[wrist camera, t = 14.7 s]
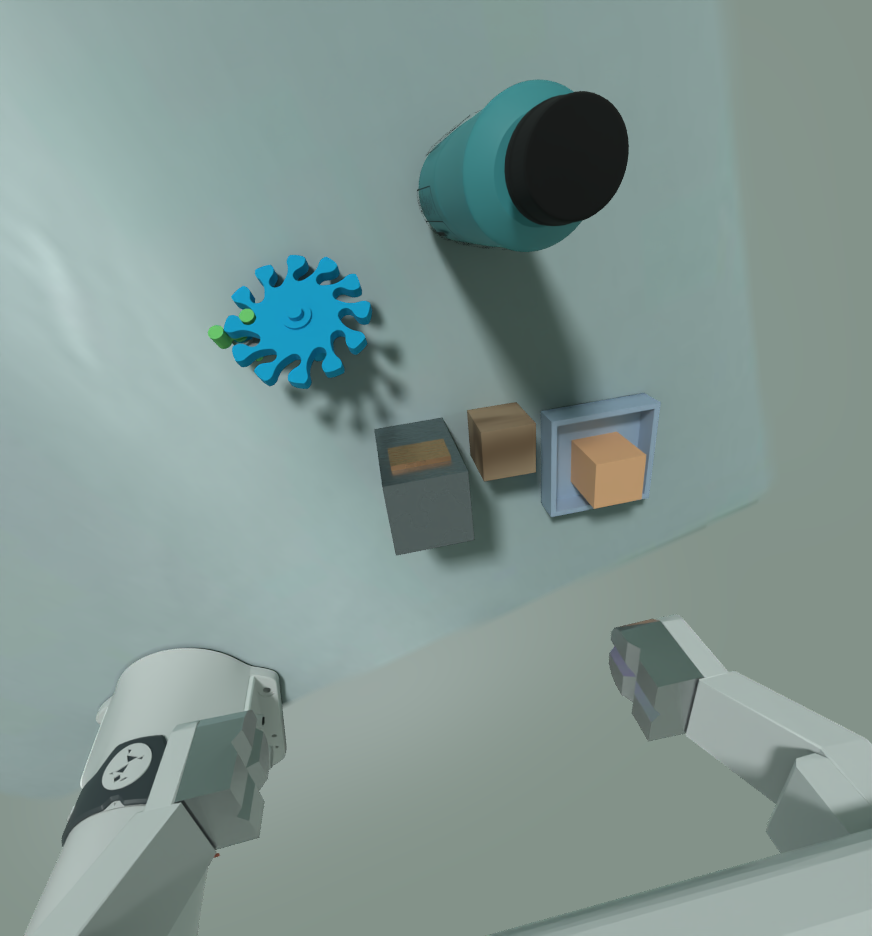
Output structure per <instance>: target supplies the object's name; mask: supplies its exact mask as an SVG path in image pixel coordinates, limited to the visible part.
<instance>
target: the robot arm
mask: <svg viewBox="0 0 872 936" xmlns="http://www.w3.org/2000/svg"><path fill="white" fill-rule="evenodd" d="M611 641H612V642H613V644H614V646H615V647H614V648H613V649H612V650H611V652H610V653H609V665H610V670H611V674H612V677H613V679H614V682H615V684H616V686H617V688H618V690H619V691H620V693H621V695H622V696H624V697H626V698H627V699H629V700H630V701H632V702H633V708H632V714H633V716H634V717H635V719H636V721H637V723H638V724H639V726H640V728H641V730H642V731H643V733H644V735H645V736H646V738H647V740H648V741H652V740H657V739H661V738H666V737H671V736H676V735H680V734H685V733H686V736H687V737H688V738H690V739H691V740H692V741H694V742H695V743H696V744H697V745H699V746H700V747H701V748H703V749H704V750H705V751H707V752H708V753H709V754H711V755H712V756H713V757H715V758H716V759H717V760H719V761H720V762H721V763H722V764H724V765H725V766H726V767H728V768H729V769H731V770H732V771H733V772H734V773H736V774H737V775H738V776H740V777H741V778H742V779H744V780H745V781H746V782H748V783H749V784H750V785H752V786H753V787H754V788H756V789H757V790H758V791H760V792H761V793H762V794H763V795H765V796H766V797H767V798H769V799H770V800H771V801H773V802H774V803H775V804H776V805H775V808H774V810H773V812H772V814H771V817H770V819H769V821H768V824H767V829H766V832H767V834H768V836H769V837H770V839H771V840H772V842H773V843H774V844H775V846H776V847H777V849H778V850H779V852H780V853H781V854H777V855H774V856H770V857H767V858H763V859H760V860H756V861H752V862H749V863H745V864H741V865H738V866H734V867H731V868H727V869H723V870H720V871H716V872H713V873H709V874H706V875H702V876H698V877H695V878H691V879H688V880H684V881H681V882H677V883H673V884H670V885H666V886H663V887H659V888H655V889H652V890H648V891H644V892H641V893H638V894H634V895H630V896H626V897H623V898H619V899H616V900H612V901H608V902H605V903H601V904H598V905H594V906H591V907H587V908H583V909H580V910H576V911H573V912H569V913H565V914H562V915H558V916H555V917H551V918H547V919H544V920H540V921H537V922H533V923H530V924H526V925H523V926H519V927H515V928H512V929H508V930H504V931H501V932H497V933H494V934H490V935H487V936H872V744H871V743H870V742H869V741H868V740H867V739H866V738H864V737H862V736H860V735H858V734H856V733H854V732H852V731H850V730H849V729H847V728H845V727H843V726H841V725H839V724H837V723H835V722H833V721H831V720H829V719H827V718H825V717H823V716H822V715H819V714H818V713H815V712H814V711H812V710H810V709H808V708H806V707H804V706H802V705H800V704H798V703H796V702H794V701H792V700H790V699H789V698H786V697H785V696H783V695H781V694H779V693H777V692H775V691H773V690H771V689H769V688H767V687H765V686H763V685H761V684H759V683H758V682H756V681H754V680H752V679H750V678H748V677H746V676H744V675H742V674H740V673H738V672H736V671H731V672H728V671H727V670H726V668H725V667H724V666H723V665H722V664H721V662H720V661H719V660H718V659H717V658H716V657H715V655H714V654H713V653H712V652H711V651H710V650H709V648H708V647H707V646H706V645H705V644H704V643H703V641H702V640H701V639H700V638H699V637H698V636H697V634H696V633H695V632H694V631H693V630H692V628H691V627H690V626H689V625H688V624H687V623H686V621H685V620H684V619H683V618H682V617H681V616H679V615H677V614H675V615H669V616H665V617H661V618H656V619H650V620H645V621H641V622H637V623H633V624H629V625H624V626H620V627H616V628H614V629H613V631H612V632H611ZM96 721H97V722H98V723H99V724H100V728H99V731H98V733H97V736H96V739H95V741H94V744H93V747H92V750H91V752H90V755H89V758H88V761H87V763H86V766H85V769H84V772H83V775H82V778H81V783H80V785H81V788H83V789H82V791H81V793H80V795H79V798H78V800H77V802H76V804H75V805H74V806H73V808H72V810H71V812H70V815H69V817H68V820H67V822H68V823H67V825H66V828H65V831H64V833H63V836H62V847H63V848H62V851H61V853H60V855H59V857H58V859H57V862H56V864H55V866H54V869H53V871H52V873H51V875H50V878H49V880H48V882H47V884H46V886H45V889H44V891H43V893H42V895H41V898H40V900H39V902H38V904H37V907H36V909H35V911H34V914H33V916H32V918H31V920H30V922H29V925H28V927H27V929H26V931H25V934H24V936H197V935H198V928H199V920H200V912H201V905H202V899H203V892H204V886H205V881H206V876H207V870H208V866H209V865H210V863H211V861H212V859H213V858H214V857H218V856H219V853H217V854H216V851H215V850H217V849H221V848H224V847H228V846H231V845H235V844H238V843H242V842H245V841H249V840H253V839H257V838H259V835H260V829H261V822H262V814H263V808H264V800H263V798H262V796H261V794H260V792H259V790H260V789H261V787H262V786H263V785H264V783H265V781H266V780H267V779H268V772H269V771H268V770H269V769H270V768H272V766H273V765H275V764H276V763H278V762H279V761H281V760H282V759H283V758H284V757H285V753H286V739H285V729H284V720H283V711H282V701H281V692H280V683H279V676H278V674H277V673H276V672H275V671H272V670H269V669H265V668H260V667H254V666H250V665H247V664H245V663H243V662H241V661H239V660H237V659H235V658H233V657H231V656H228V655H226V654H223V653H220V652H216V651H211V650H206V649H197V648H179V649H170V650H165V651H160V652H157V653H154V654H151V655H148V656H146V657H143V658H141V659H140V660H138V661H136V662H135V663H133V664H132V665H131V666H129V667H128V668H127V669H126V670H125V671H124V672H123V674H122V675H121V676H120V678H119V680H118V682H117V685H116V689H115V692H114V694H113V695H112V696H111V697H110V698H109V699H108V700H107V701H105V702H104V703H103V704H102V705H101V706H100V708H99V710H98V713H97V716H96Z"/></svg>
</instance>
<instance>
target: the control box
mask: <svg viewBox="0 0 872 936" xmlns="http://www.w3.org/2000/svg"><path fill="white" fill-rule="evenodd" d="M374 430H375V437H376V444H377V451H378V459H379V466H380V473H381V480H382V487H383V492H384V498H385V503H386V508H387V513H388V518H389V523H390V528H391V533H392V538H393V543H394V548H395V553H396V555H401V554H406V553H411V552H416V551H421V550H426V549H431V548H436V547H441V546H446V545H451V544H456V543H462V542H467V541H472V540H474V530H473V519H472V508H471V497H470V487H469V476H468V470H467V468H466V466H465V464H464V462H463V460H462V458H461V456H460V453H459V451H458V449H457V447H456V445H455V443H454V441H453V439H452V437H451V435H450V433H449V431H448V429H447V426H446V424H445V422H444V420H443V418H438V419H432V420H426V421H420V422H414V423H409V424H403V425H397V426H391V427H386V428H380V429H374Z"/></svg>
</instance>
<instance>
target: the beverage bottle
mask: <svg viewBox="0 0 872 936" xmlns="http://www.w3.org/2000/svg"><path fill="white" fill-rule="evenodd" d="M469 116H470V115H469ZM469 116H468V117H469ZM468 117H467V118H468ZM461 123H462V122H461ZM461 123H460V124H461ZM460 124H459V125H460ZM459 125H458V126H459ZM453 128H454V127H453ZM454 129H455V128H454ZM454 129H453V130H454ZM453 130H452V131H453ZM450 131H451V130H450ZM452 131H451V132H452ZM447 133H448V132H447ZM447 133H446V134H447ZM446 134H445V135H446ZM444 137H446V136H444ZM440 141H441V139H440ZM432 147H433V146H432ZM628 150H629V145H628V135H627V130H626V127H625V123H624V121H623V119H622V117H621V115H620V113H619V112H618V110H617V109H616V108H615V107H614V105H613V104H612V103H610V102H609V101H608V100H607V99H605V98H603V97H602V96H600V95H597V94H595V93H591V92H585V91H579V92H573V91H572V90H570V89H569V88H567V87H566V86H564V85H561V84H559V83H556V82H552V81H548V80H529V81H525V82H521V83H518V84H515V85H513V86H511V87H509V88H507V89H506V90H504V91H503V92H501V93H499V94H498V95H497V96H496V97H495V98H493V99H492V100H491V101H490V102H489V103H488V104H487V105H486V107H485V108H484V109H482V110H480V112H479V113H477V114H476V115H475V116H474V117H472V118H471V119H469V120H468V121H466V122H465V123H464V124H462V125H461V126H459V127H458V128H457V129H456V130H455V131H453V132H452V133H451V134H450V135H449V136H447V137H446V138H445V139H444V140H443V141H442V142H440V143H439V144H438V145H437V146H436V147H435V148H434V149H433V150H432V151H431V152H427V153H428V154H429V153H430V154H429V155H428V154H427V155H428V157H427V158H426V160H425V162H424V165H423V167H422V170H421V174H420V179H419V189H418V190H417V191H419V199H420V201H419V202H420V203H418V204H421V205H420V206H421V207H422V208H421V209H422V210H423V211H422V210H421V211H422V212H423V214H424V215H425V217H426V219H427V220H428V221H426V223H427V222H429V223H430V225H431V226H432V227H433V228H434V229H435V230H436V231H437V233H438V234H439V235H440V236H444V237H446V238H449V239H448V240H450V239H452V240H456V241H459V242H460V241H462V242H466V245H467V243H468V244H469V243H473V244H479V245H485V246H486V247H487V246H492V248H493V247H503V248H506V249H509V250H513V251H519V252H532V251H538V250H542V249H545V248H548V247H550V246H553V245H555V244H556V243H558V242H560V241H561V240H563V239H564V238H565V237H567V236H568V235H569V234H570V233H571V232H572V231H574V230H575V229H576V227H577V226H578V225H579V224H580V223H581V222H582V220H585V219H587V218H589V217H591V216H593V215H594V214H596V213H597V212H599V211H600V210H601V209H602V208H603V207H604V206H606V205H607V204H608V202H609V201H610V200H611V199H612V198H613V196H614V195H615V193H616V192H617V190H618V188H619V186H620V184H621V182H622V179H623V177H624V174H625V170H626V166H627V161H628ZM417 198H418V197H417ZM422 212H421V213H422ZM439 235H438V236H439ZM441 238H442V237H441ZM462 242H461V243H462ZM458 244H459V243H458ZM464 244H465V243H464ZM464 244H463V245H464ZM468 246H469V245H468ZM473 247H474V246H473ZM476 247H477V246H476ZM483 247H484V246H483ZM483 247H481V248H483ZM486 247H485V248H486ZM487 248H488V247H487ZM489 248H490V247H489ZM506 249H504V250H506ZM502 250H503V249H502Z"/></svg>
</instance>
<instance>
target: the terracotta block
mask: <svg viewBox="0 0 872 936" xmlns="http://www.w3.org/2000/svg"><path fill="white" fill-rule="evenodd" d="M645 464H646V454H645V453H643V452H642V451H641V450H640V449H638V448H637V447H636V446H635V445H633V444H632V443H631V442H630V441H628V440H627V439H626V438H624V437H623V436H622V435H621V434H619V433H618V432H612V433H607V434H601V435H596V436H591V437H586V438H580V439H575V440H571V482H572V484H573V485H574V486H575V487H576V488H577V489H578V491H579V492H580V493H581V494H582V495H583V497H584V498H585V499H586V500H587V501H588V502H589V504H590V505H591V506H592V507H593V508H594V509H596V508H601V507H606V506H610V505H615V504H620V503H625V502H630V501H635V500H640V499H642V491H643V482H644V473H645Z"/></svg>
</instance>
